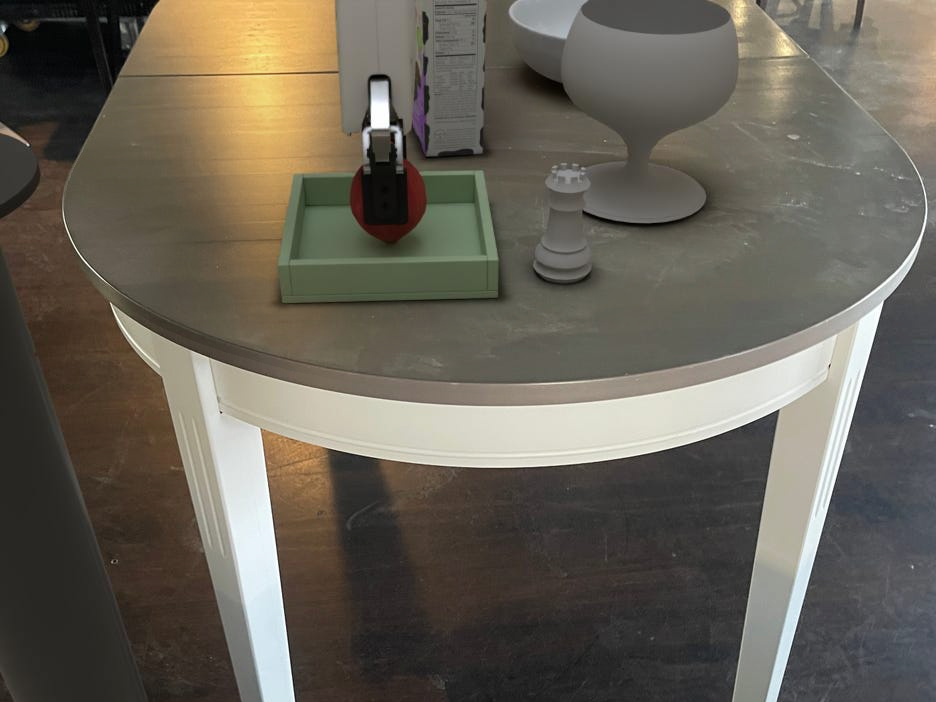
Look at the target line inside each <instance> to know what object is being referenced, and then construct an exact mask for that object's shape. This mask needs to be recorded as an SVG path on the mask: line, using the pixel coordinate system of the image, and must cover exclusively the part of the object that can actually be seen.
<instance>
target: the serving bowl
mask: <svg viewBox="0 0 936 702" xmlns="http://www.w3.org/2000/svg"><path fill="white" fill-rule="evenodd" d="M587 1H589V0H515V1H514V2H513V3H512V4H511V5H510V6H509V9H508V13H507V14H508V15H507V16H508V24H509V26H508V27H509V32H510V37H511V40H512V43H513V45H514V48H515V50H516V52H517V54H519V56H520V58H521V59H522V60H523V62H525V64H526V65H527V66H528V67H530V68H531V69H532V70H533V71H535V72H536V73H538V74H539V75H541V76H543V77H545V78H548V79H549V80H551V81H555V82H557V83H560V84H563V82H562V77H561V60H562V54H563V49H564V46H565V42H566V38H567V35H568V33H569V30H570V28H571V25H572V23H573V21H574V18H575V17H576V15H577V13H578V11H579V9H580V8H581V6H582V5H583V4H584V3H586V2H587Z"/></svg>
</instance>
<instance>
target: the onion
mask: <svg viewBox="0 0 936 702" xmlns="http://www.w3.org/2000/svg"><path fill="white" fill-rule="evenodd" d="M391 143H392V142H391ZM394 146H395V144H394ZM395 163H396V158H395ZM403 168H407V185H408V214H409V221H408V223H407V224H405V225H366V224H365V223H364V217H363V202H362V186H361V169H363V164H361V165H360V167H359V168H358V169H357V170H356V172H355V173H356V174H355V176H354V178H353V181H352V185H351V190H350V206H351V210H352V214H353V216H354V217H355V219H356V220H357V222H358V223H359V225H360V226H361V227H362V229H364V230H365V231H366V232H367V233H368V234H369V235H371V236H373V237H375V238H377V239H379V240H381V241H384V242H385V243H388V244H393V243H396V242H398V240H400V239H401V238H402V237H404V236H405V235H407V234H408V233H409V232H411V231H412V230H413V229H414V228H415V227H416V226H417V225H418V223H419V222H420V221H421V219H422V217H423V215H424V213H425V211H426V204H427V198H426V190H425V183H424V181H423V178H422V176H421V175H420V173H419V172H420V171H419V170H418V168H416V167H415V165H413V164H412V163H411V162H410V161H409V160H408V159H407V160H406V159H404V158H403Z"/></svg>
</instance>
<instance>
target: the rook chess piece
mask: <svg viewBox="0 0 936 702" xmlns="http://www.w3.org/2000/svg"><path fill="white" fill-rule="evenodd" d="M585 168H586V167H584V166H582V167H580V164H579V163H572V164H571V168H570V169H569V168H568V163H567V162H562V163H559V166H558V165H553V166H552V167H551V170H550V175H549V176H548V177H547V178H546V179H545V183H544V184H545V186H546V188H547V189H548V190H549V192H550V197H549V198H548V199H547V202H546V203H547V205H548V207H549V213H548V221H547V226H546V229H545V230H546V231H545V233H544V235H543V236H542V237H541V240H540V243H539V244H537V245H536V248H535V251H534V257H535V259H534V260H533V264H532V267H533V268H534V270H535V271H536V273H537V274H538V275H539V277H541V278H542V279H544V280H545V281H548V282H551V283H556V284H571V283H577V282H579V281H581V280H583V279H585V277H586V276H587V275H588V274H589V273H590V272H591V271H592V263H591V260H592V249H591V248H590V247H589V245H588V244H587V243H588V240H587V238H585V234H584V224H583V223H584V222H583V211H584V210H583V208H584V207H585V206H586V202H585V201H584V199H583V195H584V193H585V192H586V191H587V190H588V188H589V187H590V184H591V183H590V181H589V180H588V178H587V177H586V169H585Z"/></svg>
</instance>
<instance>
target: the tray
mask: <svg viewBox="0 0 936 702" xmlns="http://www.w3.org/2000/svg"><path fill="white" fill-rule="evenodd" d="M419 173H420V175H421V176H422V178H423V181H424V183H425V190H426V198H427V204H426V211H425V213H424V215H423V217H422V219H421V221H420V222H419V223H418V225H417V226H416V227H415V228H414V229H413V230H412V231H411V232H409V233H408V234H407V235H405V236H404V237H402V238H401V239H400V240H398V242H396V243H393V244H388V243H385V242H384V241H381V240H379V239H377V238H375V237H373V236H371V235H369V234H368V233H367V232H366V231H365V230H364V229H362V227H361V226H360V225H359V223H358V222H357V220H356V219H355V217H354V216H353V214H352V210H351V206H350V190H351V185H352V181H353V178H354V176H355V174H356V172H322V173H321V172H319V173H318V172H317V173H315V172H314V173H293V176H292V181H291V187H290V192H289V198H288V203H287V210H286V216H285V221H284V227H283V233H282V238H281V244H280V248H279V255H278V260H277V273H278V281H279V287H280V295H281V302H282V304H306V303H307V304H308V303H310V304H311V303H347V302H349V303H350V302H382V301H383V302H388V301H422V300H423V301H424V300H426V301H427V300H462V299H463V300H464V299H497V298H498V297H499V269H500V268H499V267H500V260H499V253H498V247H497V241H496V236H495V231H494V224H493V219H492V213H491V208H490V201H489V195H488V189H487V183H486V178H485V173H484V170H441V171H440V170H431V171H429V170H428V171H427V170H425V171H419Z"/></svg>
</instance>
